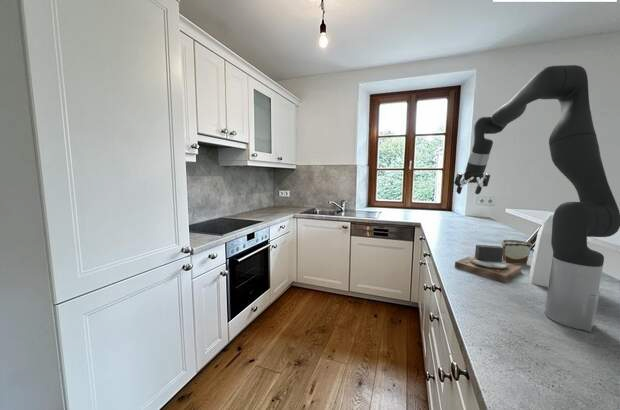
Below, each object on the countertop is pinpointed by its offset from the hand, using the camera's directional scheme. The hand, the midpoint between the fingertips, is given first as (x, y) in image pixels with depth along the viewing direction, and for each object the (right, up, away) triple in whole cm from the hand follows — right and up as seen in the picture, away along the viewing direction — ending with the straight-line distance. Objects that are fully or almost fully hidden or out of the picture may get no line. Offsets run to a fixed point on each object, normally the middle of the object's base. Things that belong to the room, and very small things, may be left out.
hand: (467, 193), depth 120 cm
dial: (-2, -31, -16) cm, 35 cm away
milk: (+14, -36, -28) cm, 47 cm away
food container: (+17, -33, -5) cm, 37 cm away
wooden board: (-2, -34, -16) cm, 37 cm away
